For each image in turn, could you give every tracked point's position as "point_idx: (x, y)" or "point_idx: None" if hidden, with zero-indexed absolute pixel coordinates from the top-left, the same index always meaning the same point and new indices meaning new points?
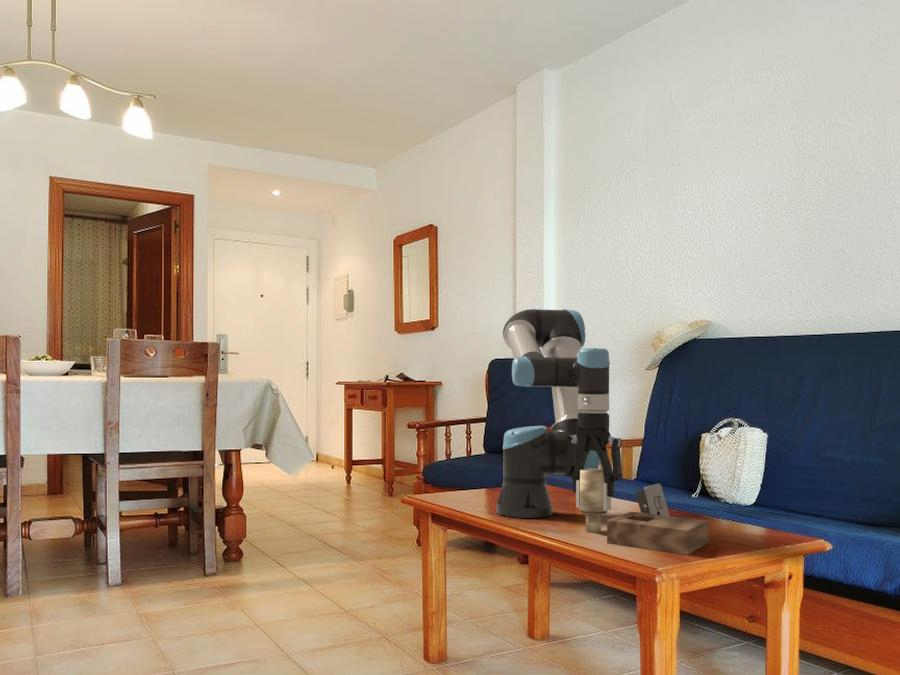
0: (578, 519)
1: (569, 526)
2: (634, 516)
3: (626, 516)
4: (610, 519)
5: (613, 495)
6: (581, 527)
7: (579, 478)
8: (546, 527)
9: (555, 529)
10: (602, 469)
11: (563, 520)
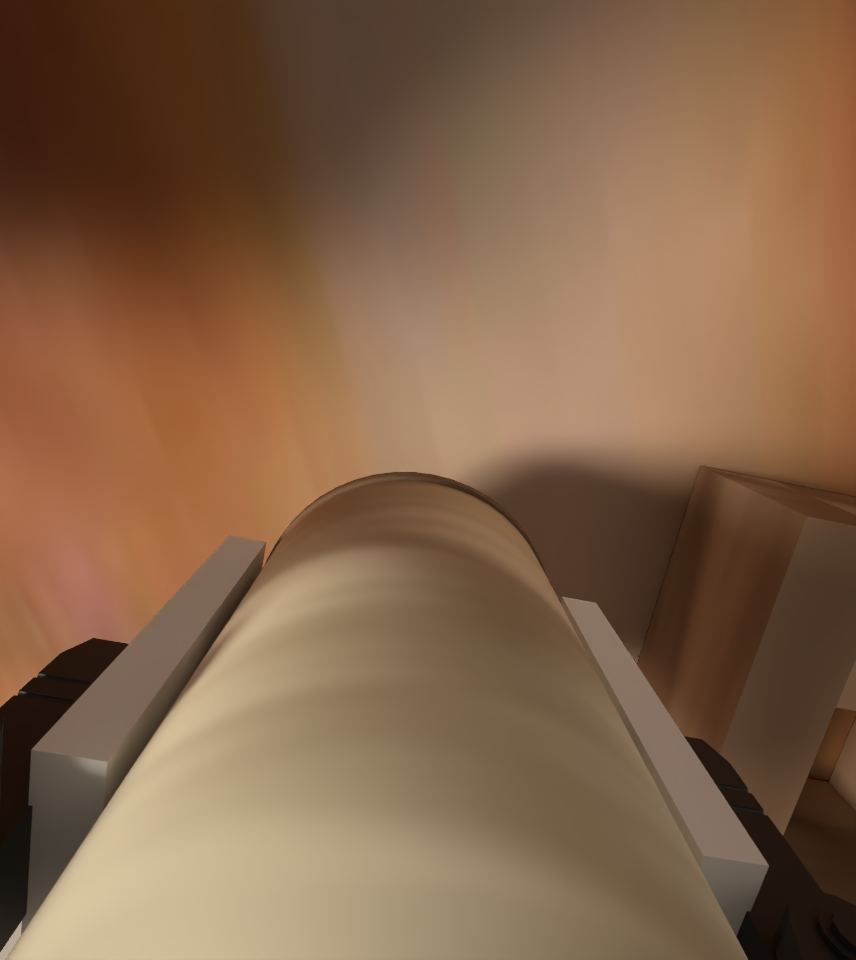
0: (112, 31)
1: (172, 437)
2: (834, 701)
3: (769, 792)
4: None
5: (704, 753)
6: (275, 431)
7: (14, 851)
8: (28, 565)
9: (123, 605)
10: (637, 948)
11: (7, 172)
